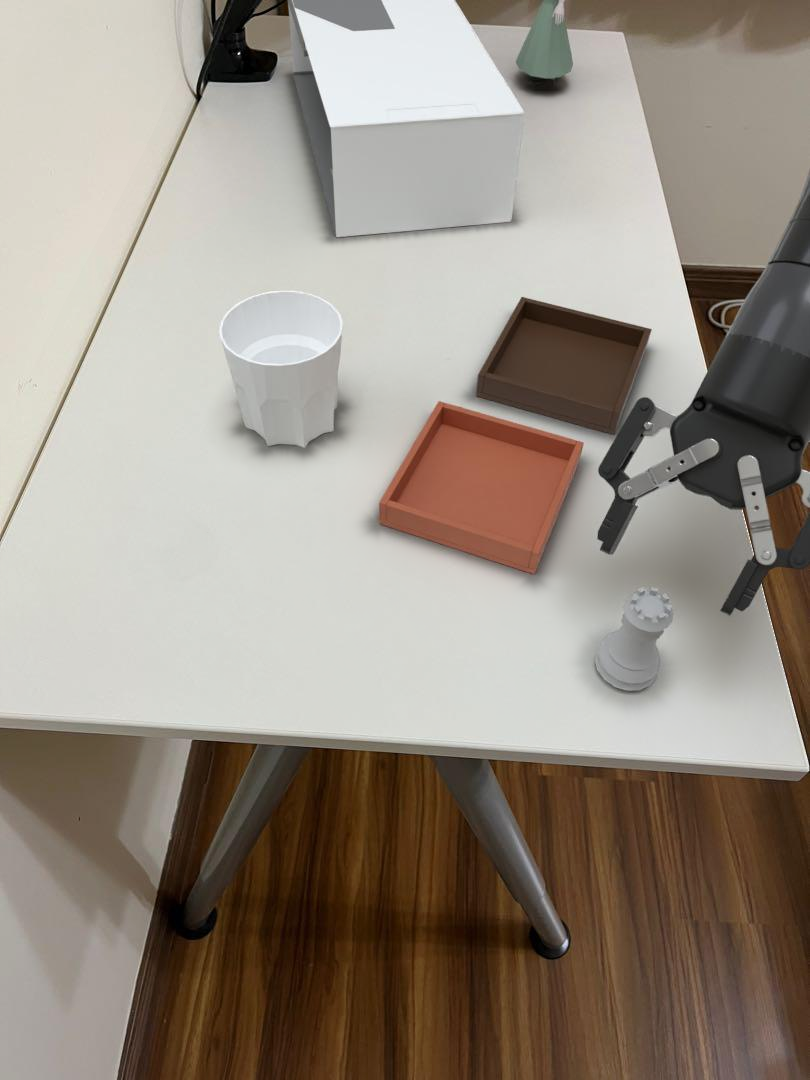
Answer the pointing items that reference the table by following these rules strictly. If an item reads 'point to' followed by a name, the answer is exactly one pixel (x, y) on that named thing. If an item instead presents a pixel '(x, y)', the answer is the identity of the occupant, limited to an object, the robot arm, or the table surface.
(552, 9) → the character figurine
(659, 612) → the rook chess piece
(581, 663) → the table surface
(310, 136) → the white box
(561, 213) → the table surface
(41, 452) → the table surface
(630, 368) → the walnut tray
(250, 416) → the cup
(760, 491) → the robot arm
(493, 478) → the terracotta tray
